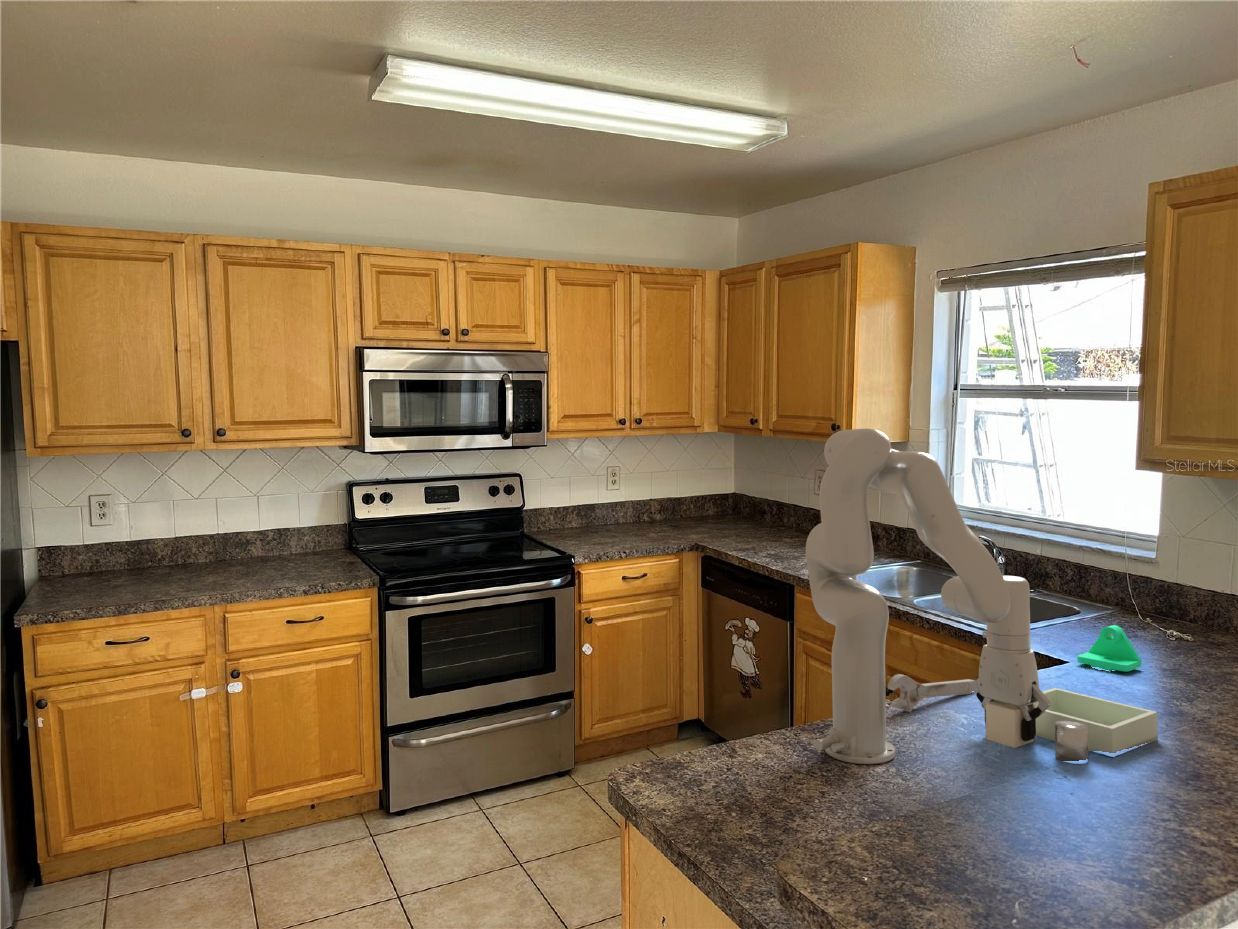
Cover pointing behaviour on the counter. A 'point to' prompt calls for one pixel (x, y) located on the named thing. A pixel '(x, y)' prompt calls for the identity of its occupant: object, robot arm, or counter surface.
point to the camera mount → (1112, 651)
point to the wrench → (925, 690)
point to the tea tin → (1071, 741)
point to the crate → (1098, 720)
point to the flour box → (1004, 724)
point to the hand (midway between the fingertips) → (1009, 733)
